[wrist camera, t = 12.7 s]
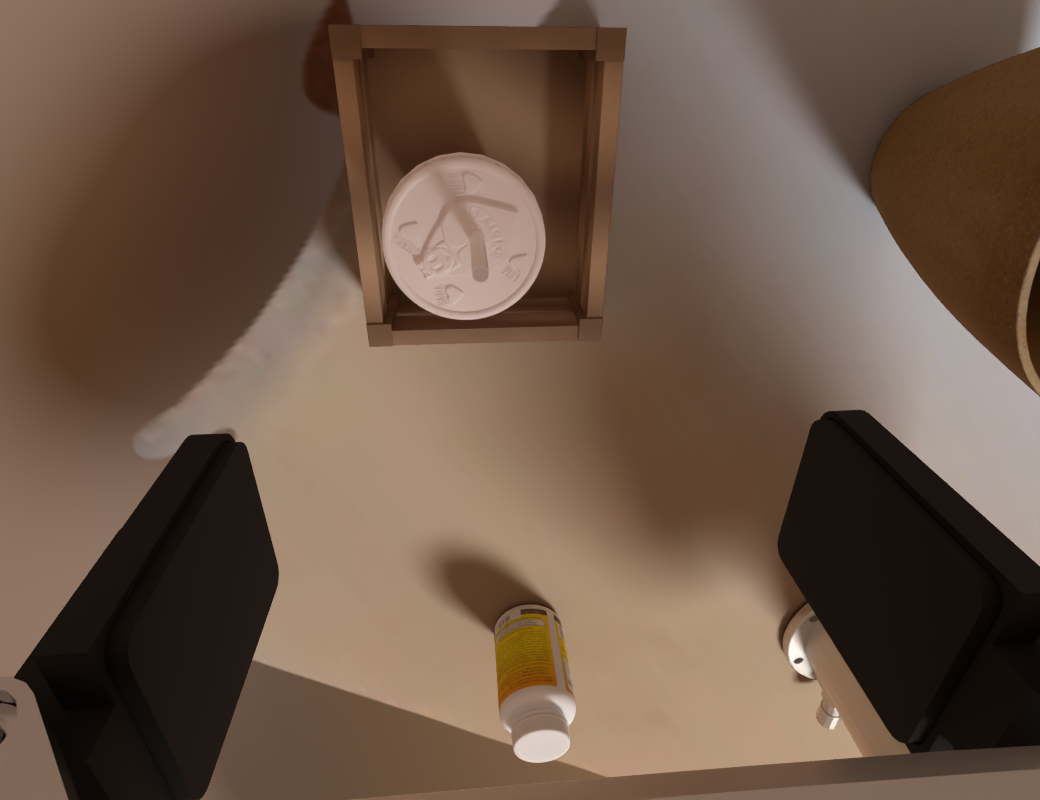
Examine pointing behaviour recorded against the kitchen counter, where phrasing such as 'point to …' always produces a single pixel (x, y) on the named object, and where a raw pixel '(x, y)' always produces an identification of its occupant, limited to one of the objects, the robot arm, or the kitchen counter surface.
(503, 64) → the crate
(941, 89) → the plant pot
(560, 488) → the kitchen counter surface
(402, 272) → the smoothie
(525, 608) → the supplement bottle
